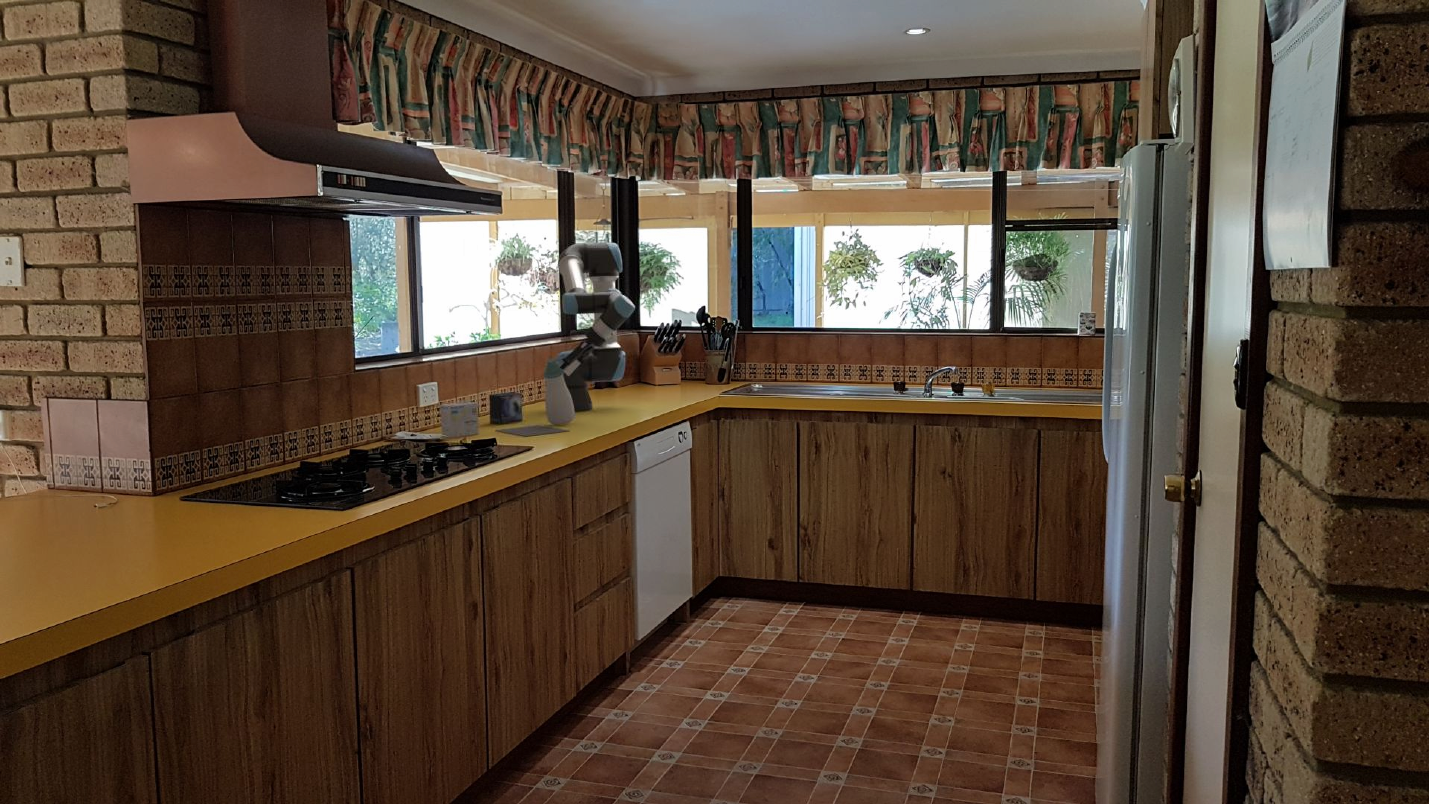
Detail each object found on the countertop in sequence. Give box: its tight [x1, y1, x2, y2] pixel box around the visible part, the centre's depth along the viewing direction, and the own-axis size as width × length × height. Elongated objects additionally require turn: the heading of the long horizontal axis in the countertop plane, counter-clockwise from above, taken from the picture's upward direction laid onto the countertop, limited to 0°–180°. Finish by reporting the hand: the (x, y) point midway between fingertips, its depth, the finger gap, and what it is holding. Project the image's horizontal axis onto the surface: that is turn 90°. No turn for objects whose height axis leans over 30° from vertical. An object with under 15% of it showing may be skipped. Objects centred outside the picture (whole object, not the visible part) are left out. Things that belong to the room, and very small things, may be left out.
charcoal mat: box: [494, 424, 570, 438], centre depth 363 cm, size 17×20×1 cm
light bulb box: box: [439, 401, 480, 439], centre depth 356 cm, size 11×7×11 cm, turn 134°
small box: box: [488, 391, 523, 425], centre depth 386 cm, size 11×6×10 cm, turn 143°
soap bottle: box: [542, 358, 576, 426], centre depth 374 cm, size 10×10×23 cm
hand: (560, 375), depth 383 cm, fingers open, 13 cm apart
